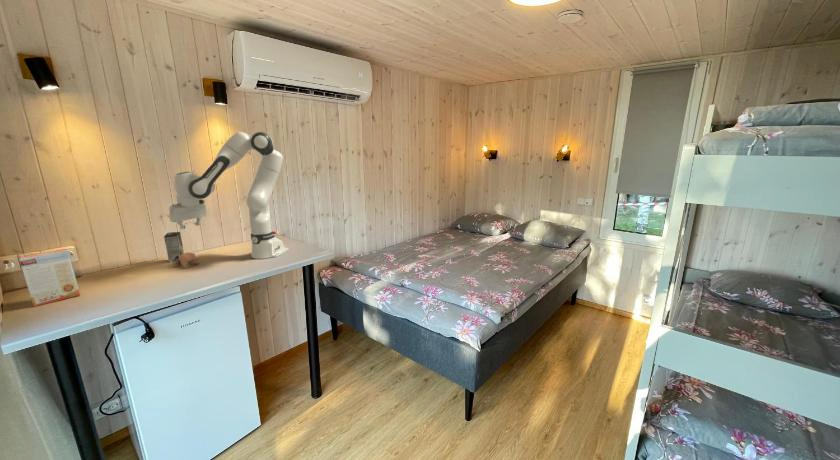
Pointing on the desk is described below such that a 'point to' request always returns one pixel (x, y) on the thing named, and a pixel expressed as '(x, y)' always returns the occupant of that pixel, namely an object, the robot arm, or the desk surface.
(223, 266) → the desk surface
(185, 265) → the chute
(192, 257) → the block
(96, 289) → the desk surface
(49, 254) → the cracker box
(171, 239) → the coffee box
